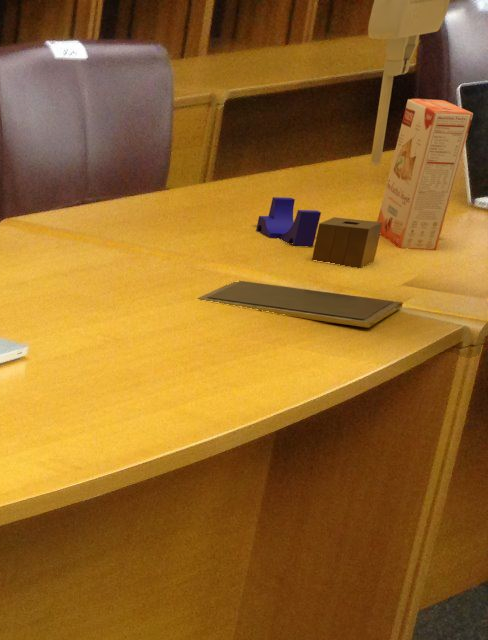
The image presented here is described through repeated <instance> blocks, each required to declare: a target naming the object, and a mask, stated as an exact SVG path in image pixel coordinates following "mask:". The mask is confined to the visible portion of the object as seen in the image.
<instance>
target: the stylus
mask: <svg viewBox="0 0 488 640" xmlns="http://www.w3.org/2000/svg"><path fill="white" fill-rule="evenodd" d="M385 65H386V59H385V60H384V67H383V71H384V70H385ZM394 77H395V76H386V75H385V74H384V72H383V74H382V80H381V88H380V95H379V102H378V109H377V113H376V114H377V115H376V122H375V129H374V135H373V143H372V150H371V155H370V165H371V166H372V167H378V166H379V165H380V164H381V162H382V157H383V150H384V143H385V138H386V137H385V136H386V130H387V123H388V117H389V109H390V103H391V98H392V89H393V84H394Z"/></svg>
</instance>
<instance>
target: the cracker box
mask: <svg viewBox="0 0 488 640" xmlns="http://www.w3.org/2000/svg"><path fill="white" fill-rule="evenodd" d="M473 116H474V113H473V112H471V111H469V110H467V109H465V108H462V107H460V106H458V105H456V104H454V103H452V102H449V101H447V100H442V99H429V98H428V99H427V98H410V99H409V98H408V99H407V102H406V105H405V110H404V114H403V118H402V122H401V125H400V130H399V133H398V136H397V137H398V138H397V141H396V146H395V150H394V153H393V158H392V160H391V165H390V169H389V173H388V178H387V181H386V185H385V189H384V193H383V196H382V201H381V205H380V209H379V213H378V217H377V221H376V222H382V228H381V232H380V233H381V234H382V235H383V236H385V237H386V238H387V239H389V240H390V241H391V242H392V243H391V242H390V241H389V240H388V241H389V242H390V243H391V244H393V243H394V244H395V245H396V247H397V248H398V247H399V249H406V248H408V249H409V250H423V251H424V249H425V250H426V251H437V248H438V244H439V240H440V236H441V233H442V229H443V225H444V223H445V218H446V216H447V215H446V214H447V211H448V207H449V203H450V200H451V196H452V192H453V189H454V186H455V182H456V179H457V174H458V171H459V168H460V164H461V160H462V156H463V153H464V148H465V146H466V141H467V139H468V135H469V131H470V127H471V125H472V120H473ZM381 234H380V235H381ZM382 235H381V236H382ZM383 236H382V237H383ZM385 237H384V238H385ZM386 238H385V239H386ZM387 239H386V240H387ZM394 244H393V245H394ZM395 245H394V246H395ZM408 249H407V250H408Z"/></svg>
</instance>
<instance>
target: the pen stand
mask: <svg viewBox="0 0 488 640" xmlns="http://www.w3.org/2000/svg"><path fill="white" fill-rule="evenodd" d="M381 228H382V222H377V221H372V220H364V219H355V218H345V217H335V216H334V217H332V218H329V219H327V220H324V221H321V222H320V223H318V227H317V232H316V236H315V241H314V246H313V247H314V248H313V253H312V257H311V261H312V260H317V261H323V262H330V263H335V264H340V265H339V266H341V265H345V266H344V267H347V266H351V267H350V268H353V267H357V268H356V269H359V268H361V269H363V268H364V267H366V266H368V265H370V264H371V262H372V263H373V261H374V262H375V259H376V254H377V249H378V245H379V241H380V237H381V234H380V232H381ZM369 263H370V264H369ZM335 264H334V265H335ZM367 264H368V265H367ZM363 266H364V267H363Z"/></svg>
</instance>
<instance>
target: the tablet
mask: <svg viewBox="0 0 488 640" xmlns="http://www.w3.org/2000/svg"><path fill="white" fill-rule="evenodd" d="M232 282H233V283H232ZM232 282H230V283H231V284H230V283H228V284H229V285H227V284H226V285H223V286H221V287H219V288H217V289H215V290H212V291H210V292H208V293H206V294H203V295H201V296H199V297H197V299H200V300H199V301H202V300H206V301H205V302H207V301H213V302H219V303H224V304H229V305H235V306H242V307H247V308H252V309H258V310H263V311H269V312H274V313H279V314H285V315H290V316H289V317H291V316H294V317H293V318H297V317H300V318H299V319H305V320H311V321H318V322H319V321H320V322H326V323H332V324H339V325H347V326H353V327H360V328H366V329H367V328H368V329H369V328H371V327H373V326H374V325H375V324H377V323H379V322H381V321H382V320H384V319H385V318H387V317H389V316H390V315H392V314H393V313H395V312H396V311H398V310H400V309H401V308H402V307H403V302H402V301H395V300H388V299H380V298H373V297H365V296H357V295H351V294H345V293H336V292H335V293H334V292H328V291H320V290H312V289H307V288H298V287H290V286H284V285H278V284H277V285H276V284H268V283H262V282H254V281H245V280H239V282H234V281H232ZM213 302H212V303H213ZM224 304H223V305H224ZM229 305H228V306H229ZM235 306H234V307H235ZM279 314H278V315H279ZM285 315H284V316H285Z"/></svg>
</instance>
